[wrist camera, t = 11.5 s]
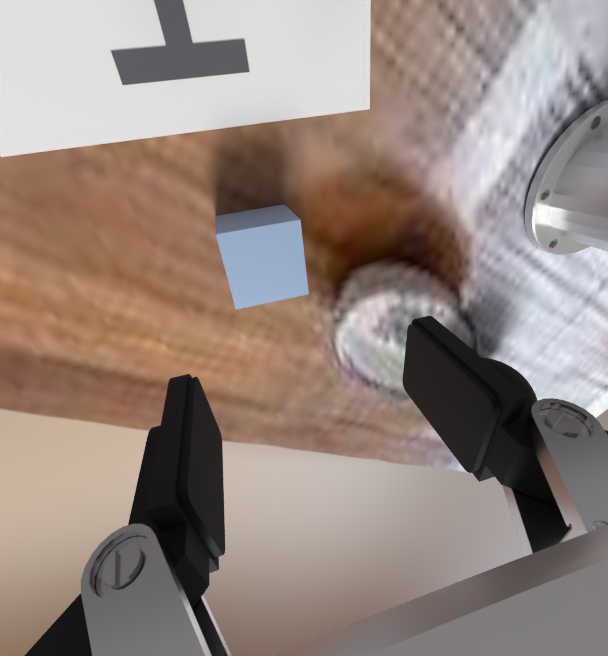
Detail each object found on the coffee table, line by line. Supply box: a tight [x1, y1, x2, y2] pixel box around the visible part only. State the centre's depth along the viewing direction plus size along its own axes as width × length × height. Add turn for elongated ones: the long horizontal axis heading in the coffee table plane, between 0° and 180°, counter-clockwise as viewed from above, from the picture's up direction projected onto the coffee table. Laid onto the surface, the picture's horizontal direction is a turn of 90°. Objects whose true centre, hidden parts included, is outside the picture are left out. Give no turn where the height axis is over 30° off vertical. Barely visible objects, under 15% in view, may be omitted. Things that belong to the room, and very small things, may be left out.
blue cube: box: [215, 204, 308, 310], centre depth 21 cm, size 5×5×5 cm
